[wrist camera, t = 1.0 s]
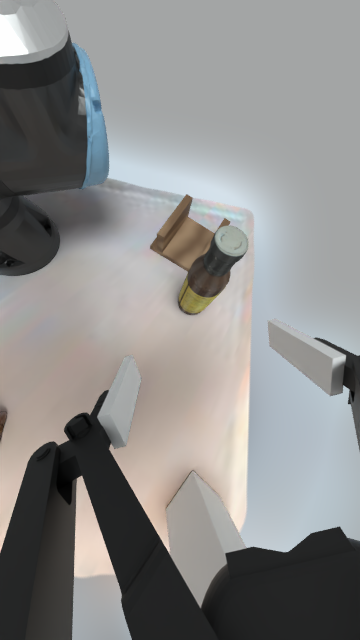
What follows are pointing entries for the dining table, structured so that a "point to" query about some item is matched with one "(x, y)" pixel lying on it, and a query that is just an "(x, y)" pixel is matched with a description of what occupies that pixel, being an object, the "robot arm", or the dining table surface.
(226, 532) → the milk carton
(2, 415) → the food item
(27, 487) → the robot arm
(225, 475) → the dining table surface
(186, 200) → the walnut slotted rack
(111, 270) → the dining table surface
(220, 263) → the sauce bottle
